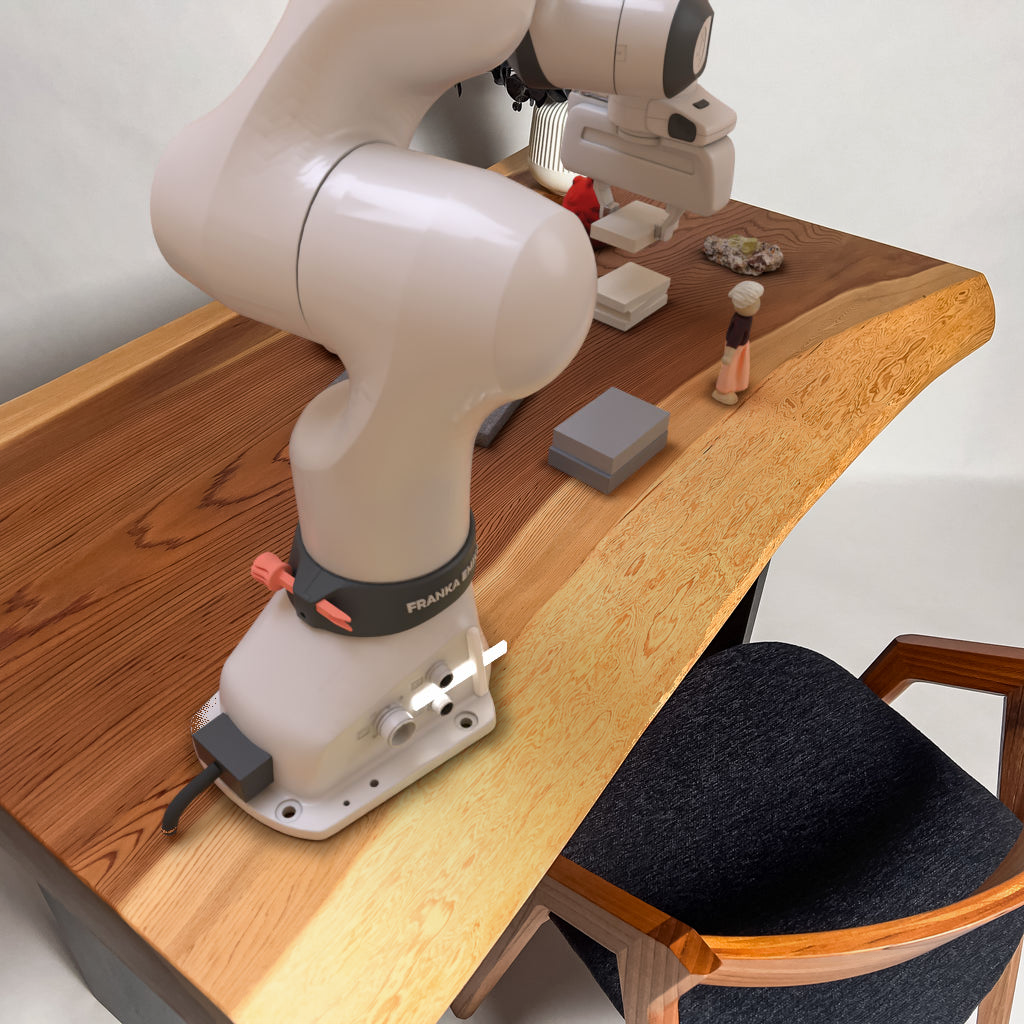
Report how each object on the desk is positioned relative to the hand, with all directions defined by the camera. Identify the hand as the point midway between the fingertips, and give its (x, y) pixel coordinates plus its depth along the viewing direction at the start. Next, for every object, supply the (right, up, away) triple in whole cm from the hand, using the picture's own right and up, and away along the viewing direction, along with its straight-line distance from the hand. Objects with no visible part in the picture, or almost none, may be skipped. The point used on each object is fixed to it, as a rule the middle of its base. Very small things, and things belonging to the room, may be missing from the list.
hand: (635, 228), depth 108 cm
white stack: (0, -8, +7) cm, 10 cm away
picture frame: (-22, -19, -8) cm, 30 cm away
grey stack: (-5, -26, -15) cm, 31 cm away
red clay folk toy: (-4, +4, +20) cm, 21 cm away
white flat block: (0, 0, 0) cm, 0 cm away
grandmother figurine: (+9, -19, -6) cm, 22 cm away
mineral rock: (+16, +1, +17) cm, 24 cm away
